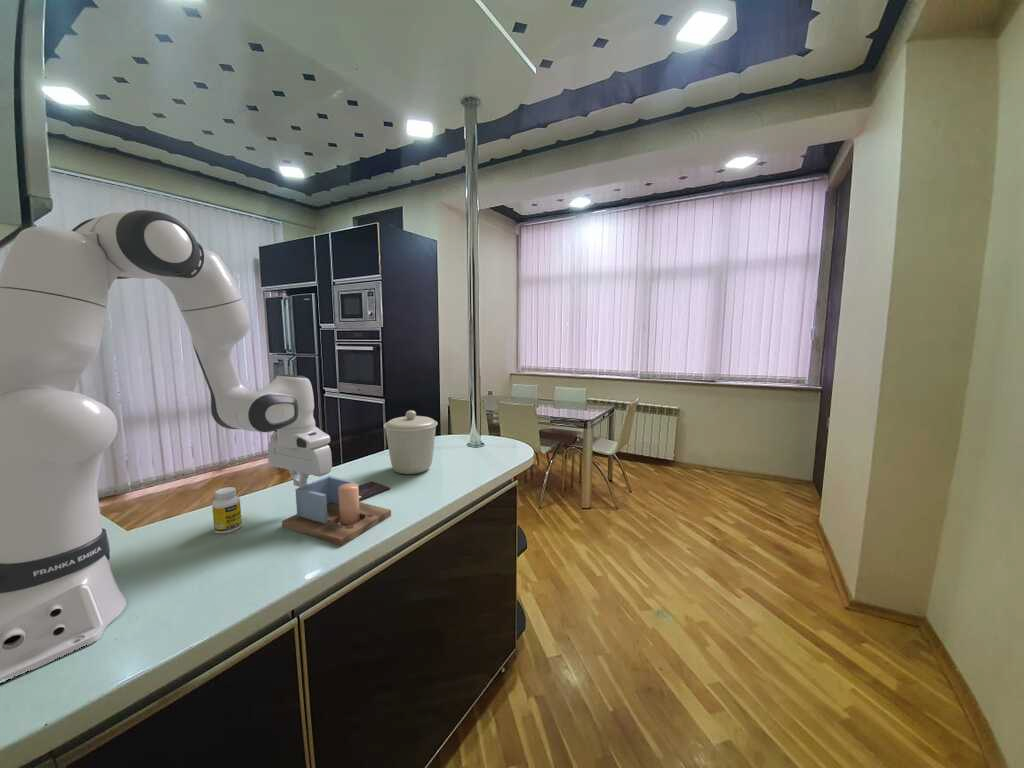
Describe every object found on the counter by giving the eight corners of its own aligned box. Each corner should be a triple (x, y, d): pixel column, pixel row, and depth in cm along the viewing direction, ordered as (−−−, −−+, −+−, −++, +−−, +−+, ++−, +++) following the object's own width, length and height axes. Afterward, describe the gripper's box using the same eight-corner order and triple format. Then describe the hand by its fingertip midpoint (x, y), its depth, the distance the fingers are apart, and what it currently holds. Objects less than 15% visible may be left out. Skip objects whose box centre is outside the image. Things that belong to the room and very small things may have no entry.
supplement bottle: (227, 535, 90) (223, 495, 89) (208, 532, 91) (204, 493, 90) (247, 524, 95) (244, 486, 94) (229, 522, 96) (226, 484, 95)
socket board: (342, 546, 86) (341, 539, 86) (282, 526, 94) (281, 520, 94) (391, 515, 101) (390, 509, 101) (335, 501, 109) (335, 495, 109)
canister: (404, 458, 146) (403, 404, 143) (447, 464, 141) (446, 407, 138) (373, 475, 129) (371, 413, 126) (420, 482, 124) (419, 418, 121)
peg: (349, 530, 93) (347, 491, 92) (335, 526, 95) (333, 488, 93) (364, 522, 97) (362, 484, 96) (350, 518, 99) (348, 481, 98)
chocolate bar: (390, 487, 117) (335, 509, 103) (390, 490, 118) (335, 513, 103) (371, 481, 122) (316, 501, 108) (372, 483, 123) (316, 504, 108)
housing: (324, 523, 92) (322, 496, 91) (297, 515, 96) (295, 489, 95) (356, 506, 101) (355, 481, 100) (330, 500, 105) (329, 475, 104)
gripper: (259, 433, 102) (263, 483, 103) (313, 443, 93) (317, 497, 95) (281, 428, 107) (285, 475, 109) (335, 437, 99) (337, 488, 101)
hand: (300, 486), depth 102 cm, fingers closed
